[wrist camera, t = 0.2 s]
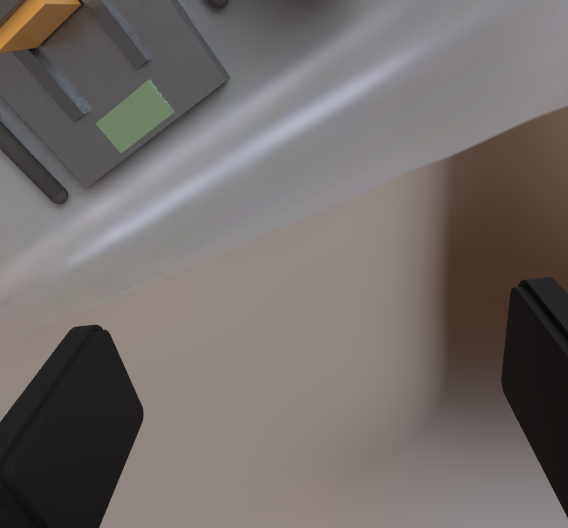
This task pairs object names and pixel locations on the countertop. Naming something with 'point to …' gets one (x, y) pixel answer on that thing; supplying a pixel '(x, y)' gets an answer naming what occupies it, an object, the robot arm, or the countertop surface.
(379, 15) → the countertop surface
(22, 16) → the orange box grey panel
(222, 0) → the cord
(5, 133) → the cord
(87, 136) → the breaker panel
